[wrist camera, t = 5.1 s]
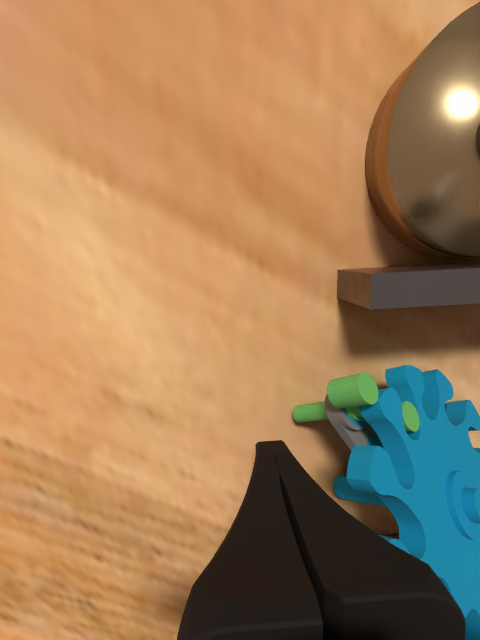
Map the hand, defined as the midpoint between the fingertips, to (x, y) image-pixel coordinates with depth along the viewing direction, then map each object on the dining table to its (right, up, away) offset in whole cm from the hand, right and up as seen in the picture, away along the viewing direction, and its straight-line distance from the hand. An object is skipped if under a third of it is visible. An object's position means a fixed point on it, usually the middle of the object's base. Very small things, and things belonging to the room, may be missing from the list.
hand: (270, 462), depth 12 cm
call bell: (+8, +13, 0) cm, 15 cm away
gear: (+6, +1, +2) cm, 6 cm away
